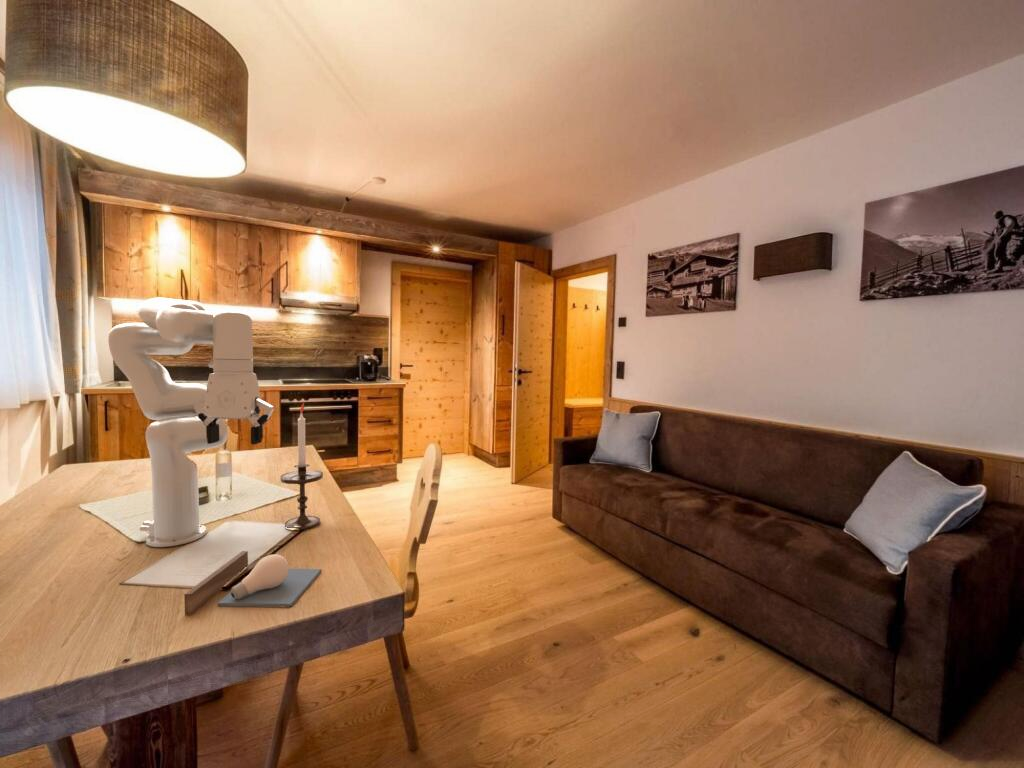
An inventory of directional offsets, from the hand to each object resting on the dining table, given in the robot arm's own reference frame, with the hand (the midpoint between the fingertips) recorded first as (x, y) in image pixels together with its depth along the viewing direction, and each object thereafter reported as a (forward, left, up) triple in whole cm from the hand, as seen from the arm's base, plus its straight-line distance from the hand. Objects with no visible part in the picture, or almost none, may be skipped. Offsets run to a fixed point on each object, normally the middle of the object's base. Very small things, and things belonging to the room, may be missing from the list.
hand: (235, 442), depth 100 cm
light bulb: (+12, -12, -28) cm, 33 cm away
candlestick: (+4, +24, -28) cm, 37 cm away
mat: (+14, -10, -28) cm, 33 cm away
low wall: (+3, -11, -28) cm, 30 cm away
